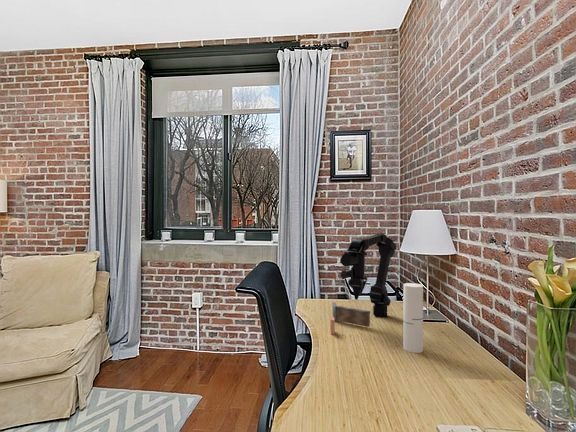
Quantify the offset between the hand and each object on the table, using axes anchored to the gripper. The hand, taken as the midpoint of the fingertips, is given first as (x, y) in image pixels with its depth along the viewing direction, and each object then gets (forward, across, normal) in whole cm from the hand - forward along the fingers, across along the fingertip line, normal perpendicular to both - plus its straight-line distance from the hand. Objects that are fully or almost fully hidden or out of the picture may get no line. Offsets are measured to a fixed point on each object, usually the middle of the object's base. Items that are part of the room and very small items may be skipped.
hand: (357, 297), depth 156 cm
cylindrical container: (+13, +21, +25) cm, 35 cm away
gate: (+12, +2, -2) cm, 12 cm away
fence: (+13, +5, -11) cm, 17 cm away
